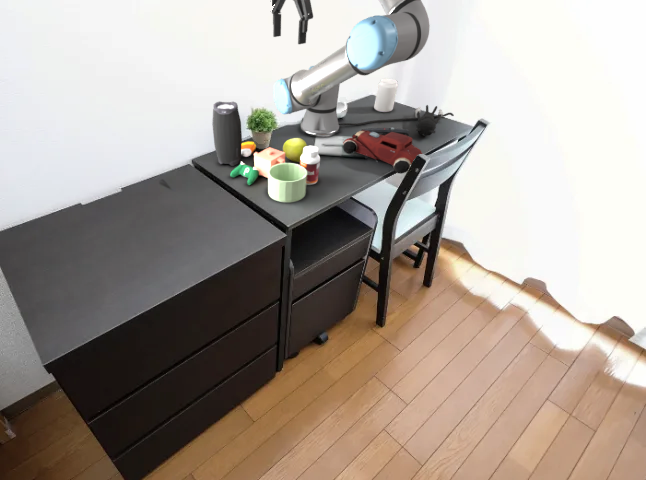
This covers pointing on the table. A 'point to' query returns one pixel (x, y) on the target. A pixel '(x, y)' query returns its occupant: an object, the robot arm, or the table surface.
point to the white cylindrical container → (386, 95)
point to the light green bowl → (287, 182)
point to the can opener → (387, 131)
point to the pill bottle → (311, 163)
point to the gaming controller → (246, 172)
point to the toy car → (384, 148)
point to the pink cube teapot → (268, 160)
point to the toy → (427, 121)
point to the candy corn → (247, 148)
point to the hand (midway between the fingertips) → (289, 39)
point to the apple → (294, 149)
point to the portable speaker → (227, 132)
